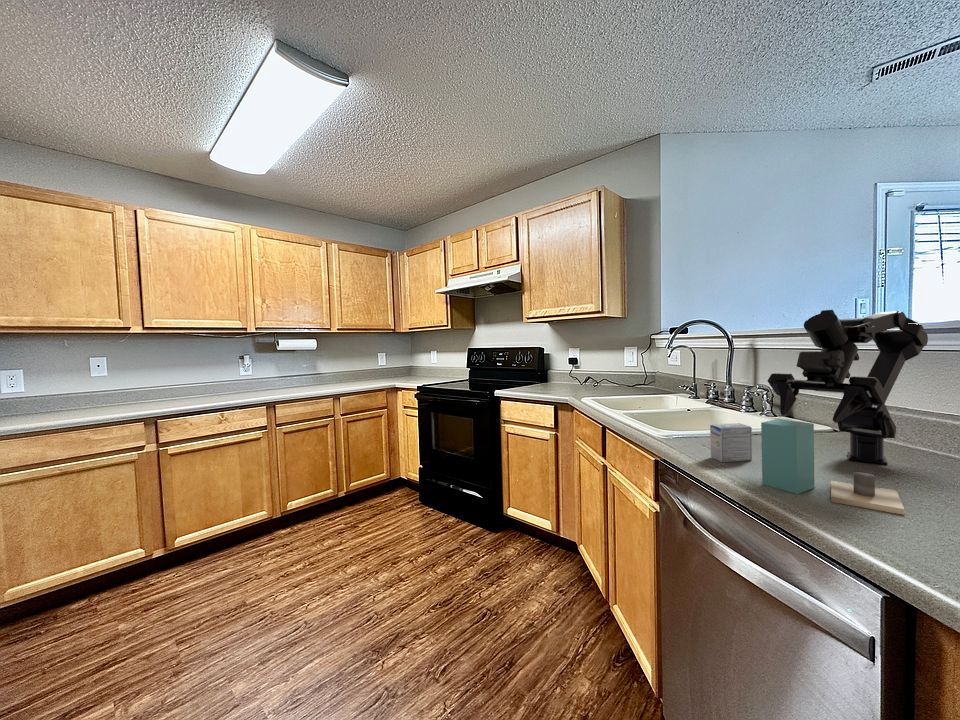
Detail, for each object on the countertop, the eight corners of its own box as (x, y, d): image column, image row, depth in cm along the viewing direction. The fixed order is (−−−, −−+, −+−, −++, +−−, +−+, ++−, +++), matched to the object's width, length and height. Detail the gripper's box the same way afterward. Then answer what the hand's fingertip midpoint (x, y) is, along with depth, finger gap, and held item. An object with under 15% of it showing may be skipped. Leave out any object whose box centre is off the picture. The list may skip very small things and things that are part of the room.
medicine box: (740, 455, 99) (739, 422, 98) (752, 461, 94) (752, 426, 94) (710, 457, 98) (709, 424, 98) (721, 462, 94) (720, 428, 94)
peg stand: (830, 485, 77) (830, 463, 77) (896, 495, 71) (896, 471, 71) (831, 501, 70) (831, 477, 70) (904, 514, 64) (904, 488, 64)
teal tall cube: (779, 478, 82) (778, 418, 82) (814, 487, 76) (813, 423, 76) (762, 484, 79) (761, 422, 79) (797, 494, 74) (796, 427, 73)
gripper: (771, 339, 91) (743, 389, 86) (878, 336, 74) (850, 398, 69) (790, 370, 94) (764, 419, 90) (897, 373, 77) (871, 435, 73)
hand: (807, 417), depth 81 cm, fingers open, 9 cm apart
